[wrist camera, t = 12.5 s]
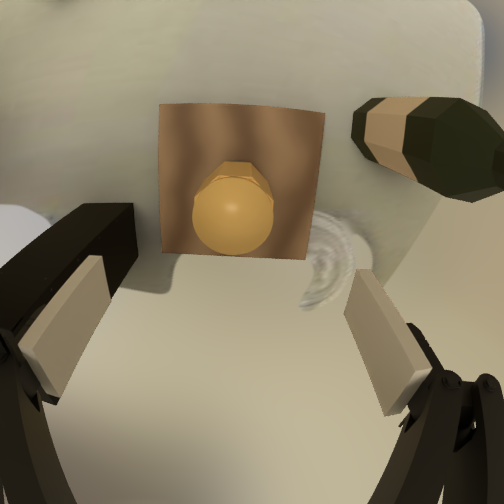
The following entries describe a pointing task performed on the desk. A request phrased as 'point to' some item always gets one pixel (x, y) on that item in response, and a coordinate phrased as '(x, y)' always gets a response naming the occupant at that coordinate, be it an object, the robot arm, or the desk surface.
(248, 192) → the ochre cap
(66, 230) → the black pillar candle
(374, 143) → the labelled green bottle
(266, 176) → the walnut board
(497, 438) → the robot arm
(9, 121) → the desk surface
